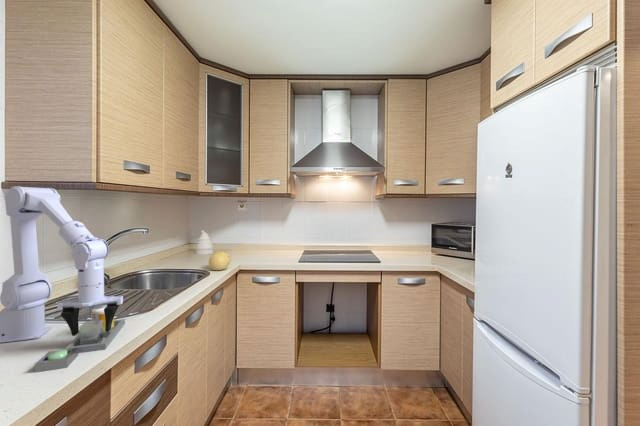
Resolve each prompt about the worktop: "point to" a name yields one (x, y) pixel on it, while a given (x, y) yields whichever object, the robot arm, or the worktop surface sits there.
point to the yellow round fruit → (219, 261)
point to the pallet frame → (98, 346)
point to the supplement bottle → (100, 315)
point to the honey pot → (204, 244)
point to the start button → (57, 354)
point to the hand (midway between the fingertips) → (92, 332)
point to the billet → (91, 332)
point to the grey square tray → (56, 361)
